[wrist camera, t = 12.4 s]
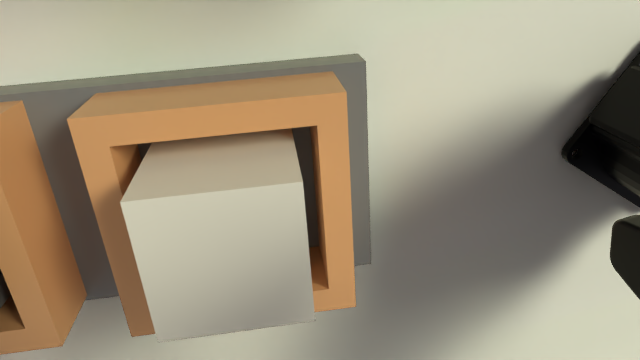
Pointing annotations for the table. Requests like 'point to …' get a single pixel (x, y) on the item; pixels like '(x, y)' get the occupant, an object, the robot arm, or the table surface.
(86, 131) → the orange and grey housing
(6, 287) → the dark grey block
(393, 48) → the table surface
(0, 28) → the table surface
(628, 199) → the robot arm
